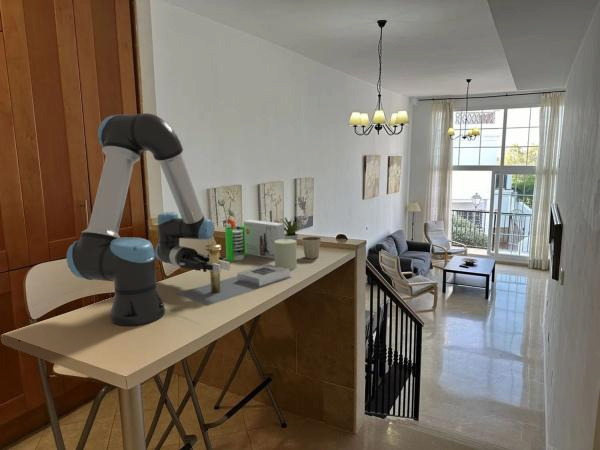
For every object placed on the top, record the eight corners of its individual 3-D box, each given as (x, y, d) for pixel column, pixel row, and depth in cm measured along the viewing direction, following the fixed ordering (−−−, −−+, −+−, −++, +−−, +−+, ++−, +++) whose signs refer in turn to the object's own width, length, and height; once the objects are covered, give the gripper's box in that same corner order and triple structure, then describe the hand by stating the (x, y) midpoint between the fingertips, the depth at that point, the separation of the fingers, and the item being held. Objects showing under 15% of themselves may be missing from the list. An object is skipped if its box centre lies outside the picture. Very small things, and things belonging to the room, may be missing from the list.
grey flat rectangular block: (259, 287, 155) (259, 278, 155) (237, 280, 163) (237, 272, 163) (290, 276, 167) (290, 268, 166) (268, 271, 175) (268, 263, 174)
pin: (214, 295, 147) (211, 248, 145) (205, 292, 151) (202, 246, 148) (226, 291, 151) (224, 245, 149) (217, 288, 155) (214, 243, 152)
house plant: (270, 249, 216) (269, 216, 214) (280, 243, 229) (279, 212, 227) (297, 250, 212) (296, 217, 209) (306, 244, 225) (305, 213, 222)
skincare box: (244, 254, 208) (242, 221, 205) (251, 251, 212) (250, 219, 209) (278, 260, 195) (277, 224, 192) (285, 257, 199) (284, 223, 197)
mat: (207, 307, 138) (207, 305, 138) (176, 295, 150) (176, 293, 150) (292, 278, 166) (292, 277, 166) (260, 270, 178) (259, 269, 178)
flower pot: (298, 255, 202) (298, 237, 200) (317, 253, 205) (317, 235, 203) (304, 260, 193) (304, 241, 192) (325, 258, 196) (324, 239, 194)
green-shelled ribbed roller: (238, 261, 194) (236, 221, 191) (222, 260, 196) (220, 220, 193) (247, 256, 202) (246, 218, 199) (232, 255, 205) (230, 217, 202)
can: (298, 265, 185) (297, 237, 183) (295, 271, 176) (295, 242, 174) (276, 265, 186) (275, 237, 184) (273, 271, 177) (272, 242, 175)
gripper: (203, 262, 168) (243, 273, 152) (165, 271, 156) (205, 284, 141) (202, 243, 167) (242, 252, 151) (164, 251, 155) (203, 261, 139)
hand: (224, 267), depth 146 cm, fingers closed on pin, 3 cm apart
